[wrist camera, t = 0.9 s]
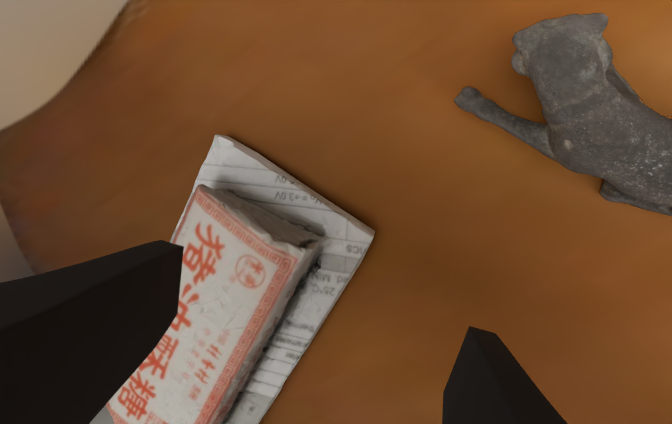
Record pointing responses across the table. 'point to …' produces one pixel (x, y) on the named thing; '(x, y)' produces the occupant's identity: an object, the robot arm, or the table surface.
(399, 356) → the table surface
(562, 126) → the dog figurine
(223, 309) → the packaged product
